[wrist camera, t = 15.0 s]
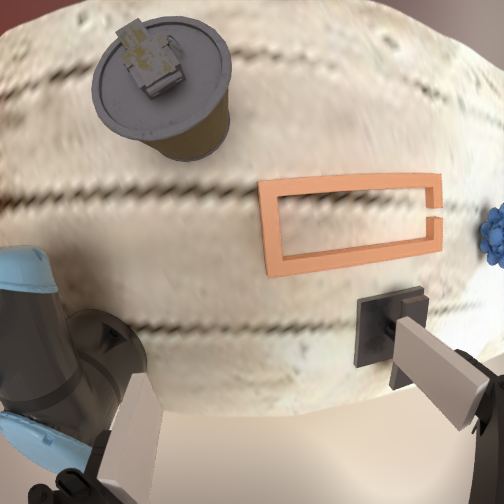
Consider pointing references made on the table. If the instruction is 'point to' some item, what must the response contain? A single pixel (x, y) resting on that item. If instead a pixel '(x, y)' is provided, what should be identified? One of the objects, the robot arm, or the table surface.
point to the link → (348, 256)
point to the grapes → (494, 236)
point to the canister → (166, 86)
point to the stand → (386, 327)
